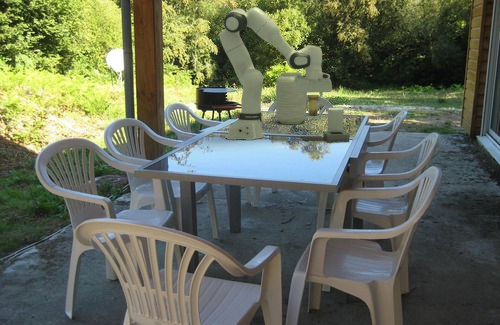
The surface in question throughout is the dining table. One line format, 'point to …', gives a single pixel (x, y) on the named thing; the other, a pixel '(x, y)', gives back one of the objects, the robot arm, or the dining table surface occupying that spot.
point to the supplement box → (335, 119)
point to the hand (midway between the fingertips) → (313, 100)
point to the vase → (289, 100)
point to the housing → (336, 136)
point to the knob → (313, 105)
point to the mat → (312, 138)
